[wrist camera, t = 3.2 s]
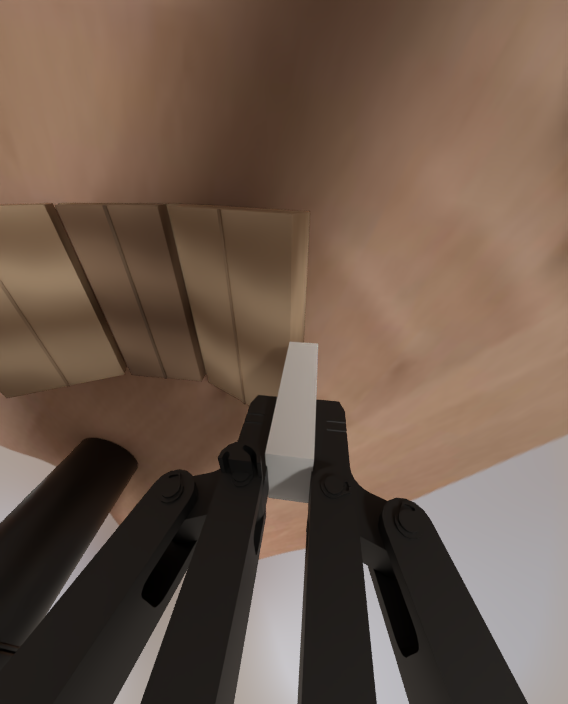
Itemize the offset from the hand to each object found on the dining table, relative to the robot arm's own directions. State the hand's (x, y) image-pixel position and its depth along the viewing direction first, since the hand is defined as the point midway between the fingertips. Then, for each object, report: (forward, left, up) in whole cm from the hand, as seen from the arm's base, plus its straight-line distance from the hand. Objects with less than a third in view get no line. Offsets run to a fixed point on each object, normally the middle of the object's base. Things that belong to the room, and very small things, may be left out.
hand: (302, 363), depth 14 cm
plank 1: (0, -17, -7) cm, 19 cm away
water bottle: (+25, -28, -7) cm, 38 cm away
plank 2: (0, -8, -7) cm, 11 cm away
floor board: (0, -13, -7) cm, 15 cm away
